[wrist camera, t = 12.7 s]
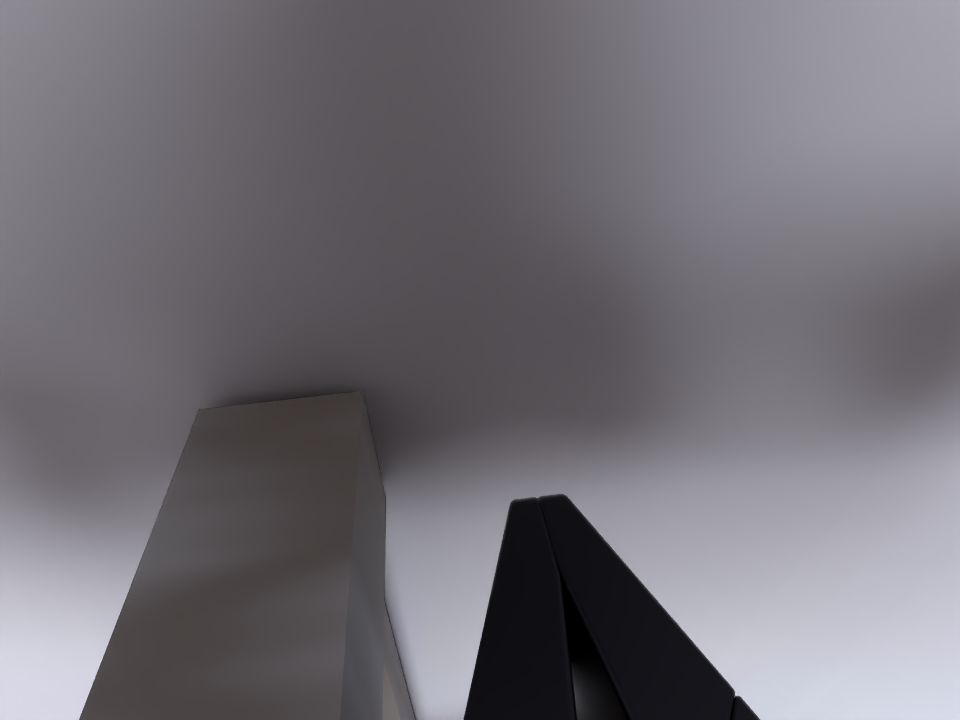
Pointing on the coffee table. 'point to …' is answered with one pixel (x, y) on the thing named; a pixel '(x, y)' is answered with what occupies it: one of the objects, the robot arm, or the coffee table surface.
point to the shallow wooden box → (262, 577)
